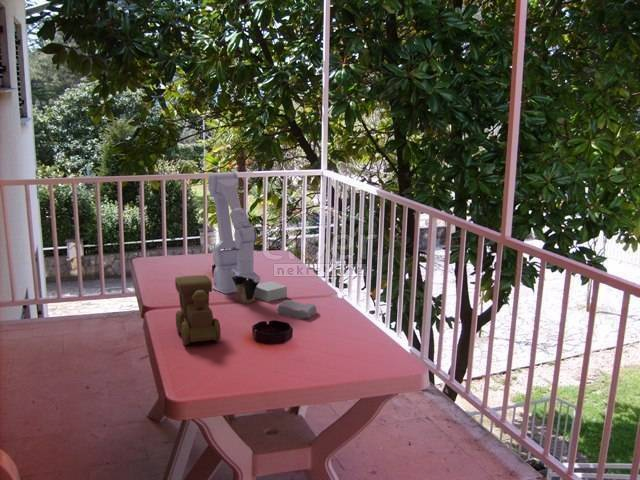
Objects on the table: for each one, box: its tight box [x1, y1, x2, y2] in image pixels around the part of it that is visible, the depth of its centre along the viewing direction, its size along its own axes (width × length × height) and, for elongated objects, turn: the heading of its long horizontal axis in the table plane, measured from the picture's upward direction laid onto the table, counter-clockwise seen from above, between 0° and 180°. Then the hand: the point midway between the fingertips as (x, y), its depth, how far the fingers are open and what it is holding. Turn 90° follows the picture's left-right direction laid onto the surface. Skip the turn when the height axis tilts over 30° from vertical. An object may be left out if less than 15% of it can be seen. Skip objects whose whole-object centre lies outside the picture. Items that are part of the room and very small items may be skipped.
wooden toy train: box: [174, 274, 221, 346], centre depth 201 cm, size 20×11×17 cm, turn 21°
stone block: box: [277, 299, 317, 320], centre depth 225 cm, size 12×5×10 cm
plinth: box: [255, 280, 288, 303], centre depth 242 cm, size 9×9×4 cm
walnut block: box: [236, 283, 256, 305], centre depth 236 cm, size 4×4×6 cm
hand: (245, 297), depth 237 cm, fingers closed on walnut block, 4 cm apart
